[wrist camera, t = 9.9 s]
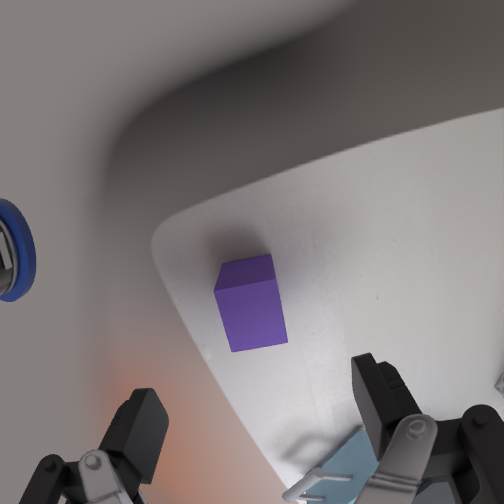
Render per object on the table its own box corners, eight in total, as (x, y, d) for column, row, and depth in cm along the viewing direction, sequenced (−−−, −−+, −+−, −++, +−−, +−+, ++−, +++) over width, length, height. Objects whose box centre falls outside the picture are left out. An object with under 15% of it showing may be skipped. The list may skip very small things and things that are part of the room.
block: (236, 316, 23) (231, 352, 18) (222, 263, 22) (213, 290, 17) (281, 307, 23) (288, 342, 18) (271, 253, 22) (275, 278, 17)
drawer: (269, 475, 28) (270, 524, 21) (321, 422, 25) (334, 480, 18) (380, 485, 30) (391, 522, 23) (434, 438, 27) (454, 477, 20)
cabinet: (347, 482, 30) (358, 532, 22) (407, 428, 27) (433, 483, 19) (412, 482, 32) (427, 521, 23) (465, 433, 29) (490, 473, 20)
